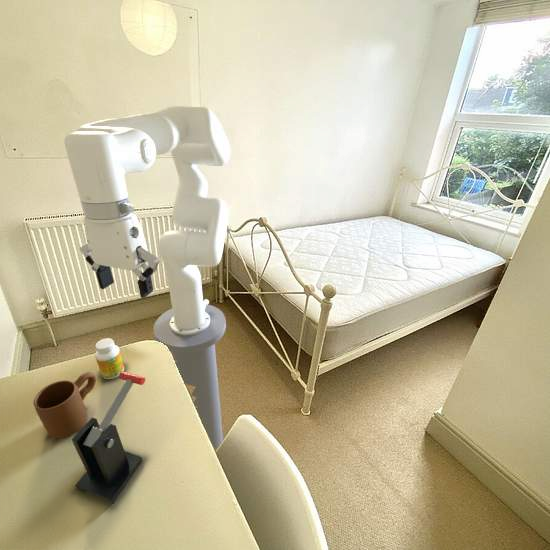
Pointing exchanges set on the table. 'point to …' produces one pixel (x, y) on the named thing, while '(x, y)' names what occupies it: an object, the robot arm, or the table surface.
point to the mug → (64, 405)
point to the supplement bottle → (108, 358)
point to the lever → (114, 406)
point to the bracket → (104, 463)
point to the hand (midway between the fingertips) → (127, 290)
